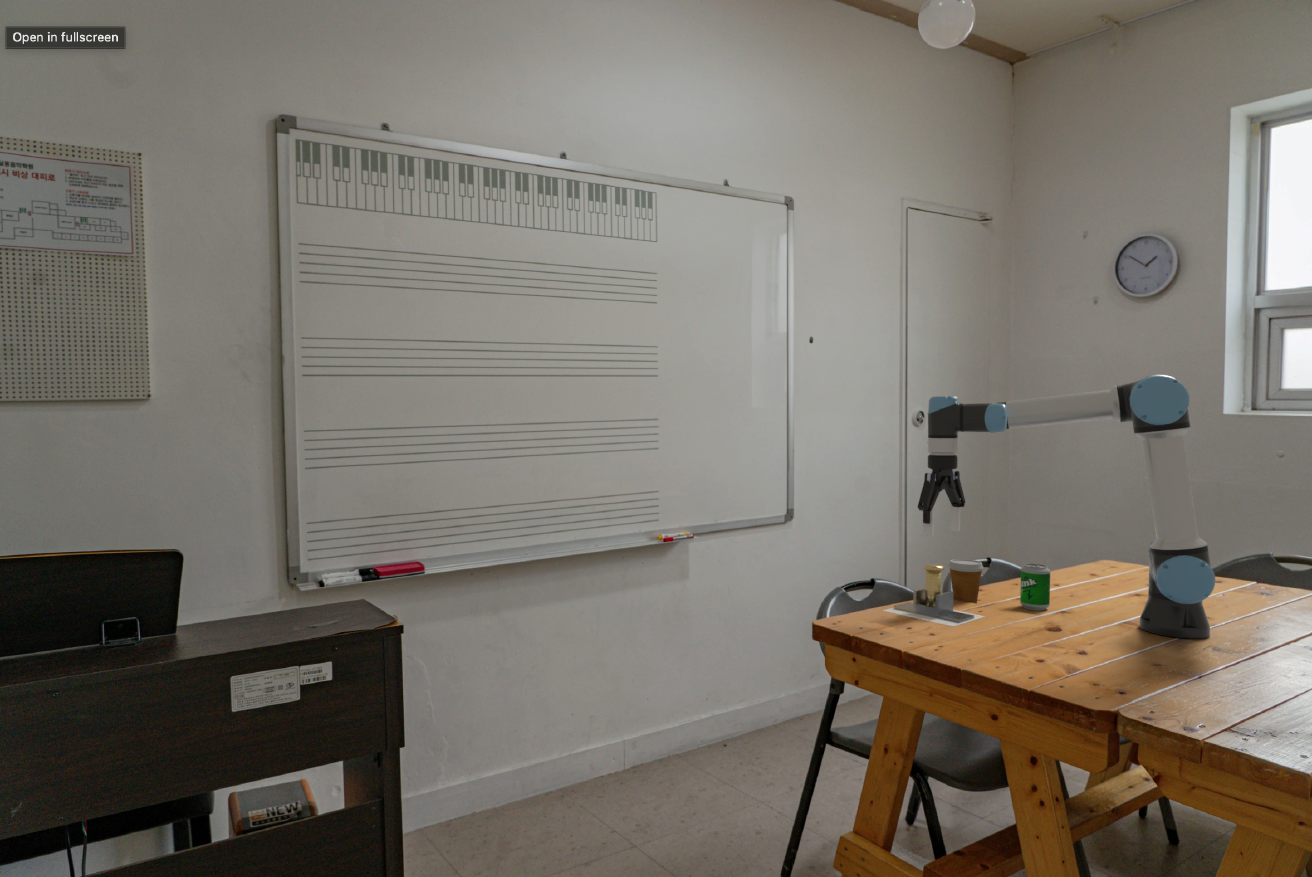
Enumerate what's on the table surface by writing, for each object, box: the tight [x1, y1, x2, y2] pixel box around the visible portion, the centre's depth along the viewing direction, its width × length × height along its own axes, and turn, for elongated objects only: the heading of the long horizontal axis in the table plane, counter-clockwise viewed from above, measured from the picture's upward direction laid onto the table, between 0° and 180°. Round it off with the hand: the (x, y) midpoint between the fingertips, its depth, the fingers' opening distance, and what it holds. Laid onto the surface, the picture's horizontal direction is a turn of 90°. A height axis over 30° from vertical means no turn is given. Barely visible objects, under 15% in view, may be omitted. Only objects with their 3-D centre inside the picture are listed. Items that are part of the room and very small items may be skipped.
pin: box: [923, 563, 944, 607], centre depth 221 cm, size 5×5×13 cm
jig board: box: [882, 607, 986, 628], centre depth 221 cm, size 21×16×1 cm
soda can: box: [1019, 563, 1051, 611], centre depth 233 cm, size 8×8×12 cm
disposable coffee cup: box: [947, 558, 984, 604], centre depth 238 cm, size 10×10×12 cm
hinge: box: [893, 587, 974, 623], centre depth 221 cm, size 19×7×6 cm, turn 41°
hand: (941, 533), depth 221 cm, fingers open, 13 cm apart
